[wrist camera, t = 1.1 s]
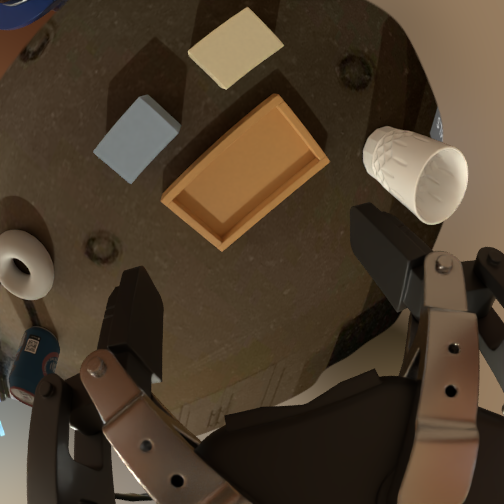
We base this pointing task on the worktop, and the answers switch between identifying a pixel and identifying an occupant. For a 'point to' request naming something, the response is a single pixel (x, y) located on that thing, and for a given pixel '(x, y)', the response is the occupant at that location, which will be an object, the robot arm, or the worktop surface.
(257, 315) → the worktop surface
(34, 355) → the soda can
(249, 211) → the frame
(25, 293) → the donut
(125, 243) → the worktop surface
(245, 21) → the pad
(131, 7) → the worktop surface
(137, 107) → the pad
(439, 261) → the robot arm
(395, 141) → the white cup
